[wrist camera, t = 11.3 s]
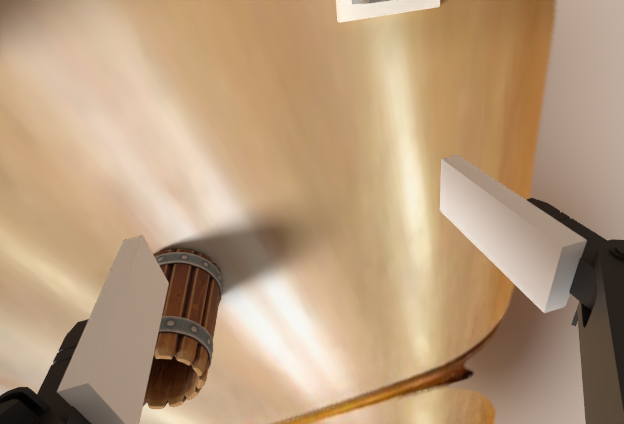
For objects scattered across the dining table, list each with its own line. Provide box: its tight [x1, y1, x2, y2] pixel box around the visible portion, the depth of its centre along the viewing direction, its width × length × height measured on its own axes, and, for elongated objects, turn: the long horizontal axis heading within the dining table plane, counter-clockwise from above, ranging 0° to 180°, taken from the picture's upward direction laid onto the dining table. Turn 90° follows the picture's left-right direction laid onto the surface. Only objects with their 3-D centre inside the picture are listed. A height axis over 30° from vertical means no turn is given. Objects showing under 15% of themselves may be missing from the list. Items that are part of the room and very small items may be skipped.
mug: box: [143, 249, 223, 409], centre depth 40 cm, size 16×11×15 cm
